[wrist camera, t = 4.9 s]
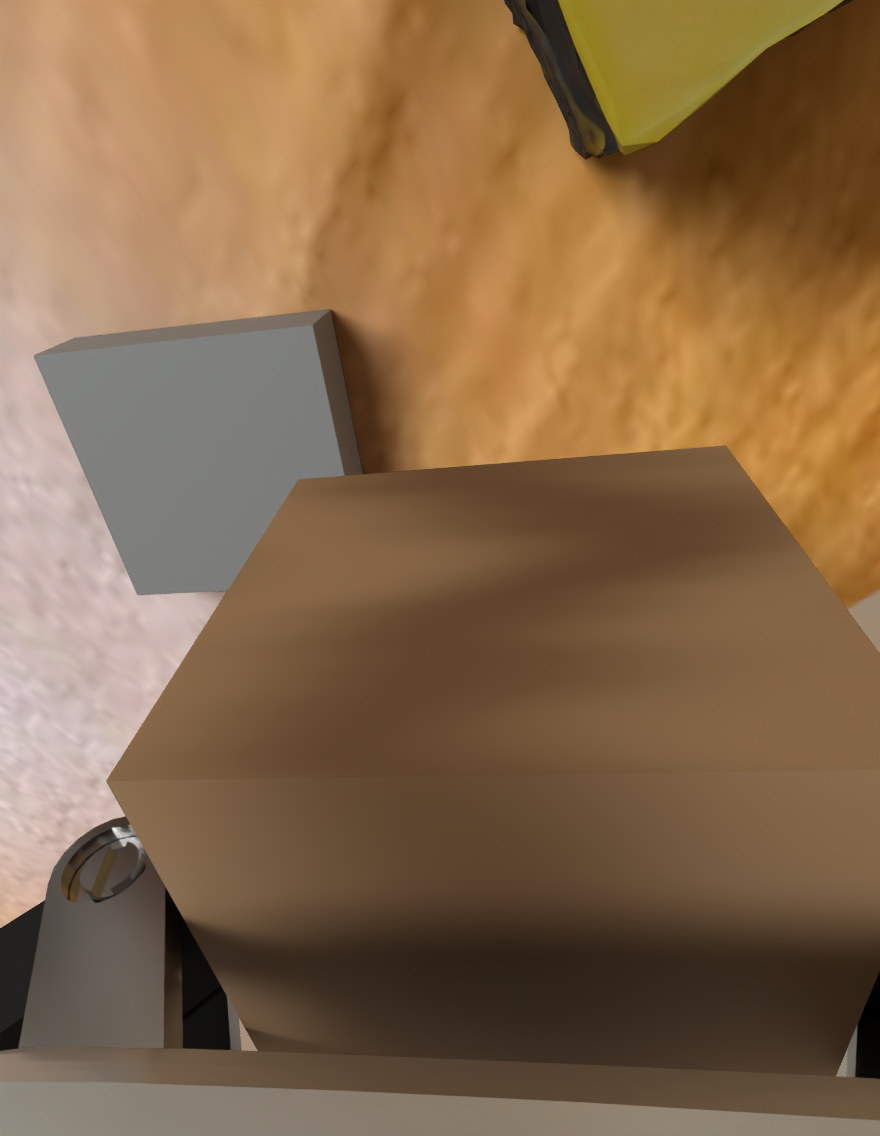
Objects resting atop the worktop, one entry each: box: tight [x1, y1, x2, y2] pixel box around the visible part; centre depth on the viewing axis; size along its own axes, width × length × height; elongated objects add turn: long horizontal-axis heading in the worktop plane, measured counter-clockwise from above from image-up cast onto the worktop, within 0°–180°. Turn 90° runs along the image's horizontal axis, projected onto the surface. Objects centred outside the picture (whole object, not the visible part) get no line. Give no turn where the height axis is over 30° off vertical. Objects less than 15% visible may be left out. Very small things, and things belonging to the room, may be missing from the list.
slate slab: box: [34, 309, 363, 595], centre depth 26 cm, size 10×10×2 cm
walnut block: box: [106, 446, 880, 1076], centre depth 9 cm, size 6×6×6 cm
